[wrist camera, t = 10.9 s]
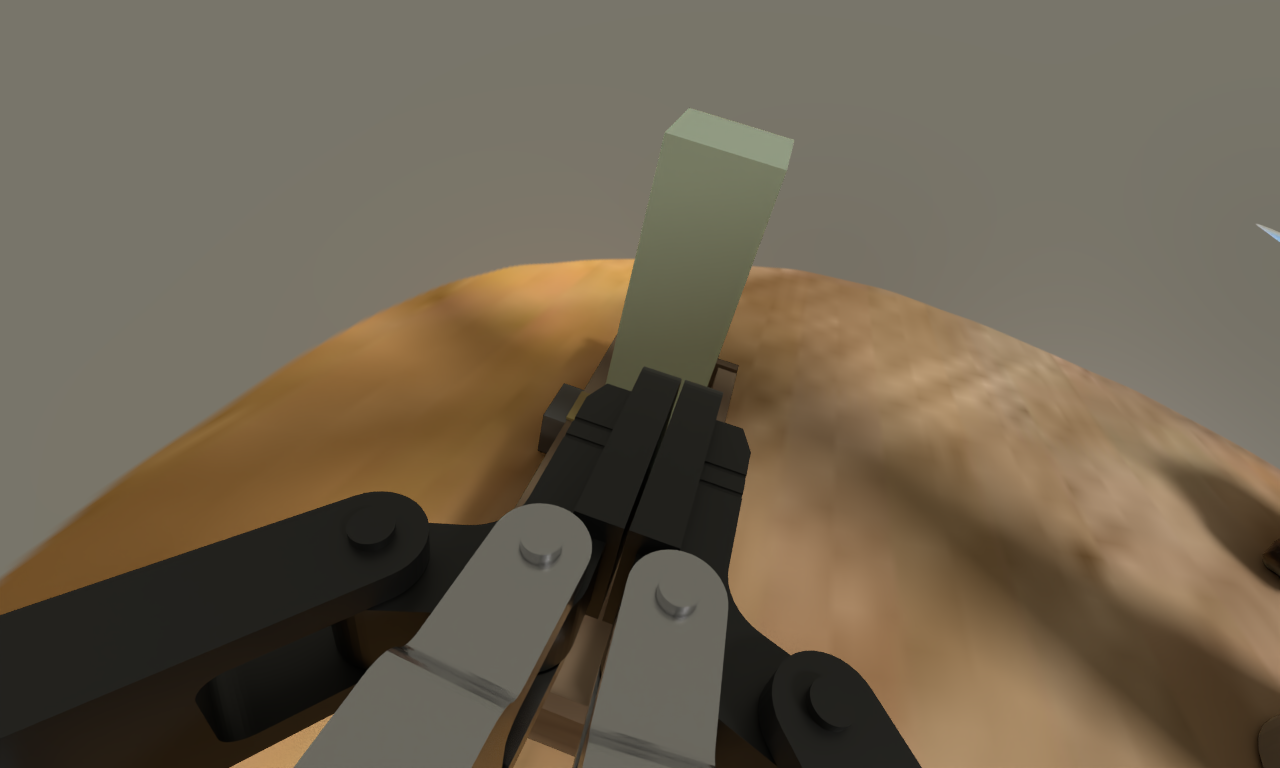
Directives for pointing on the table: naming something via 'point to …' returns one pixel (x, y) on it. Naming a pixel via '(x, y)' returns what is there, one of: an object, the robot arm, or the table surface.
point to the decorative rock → (1273, 557)
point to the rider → (697, 246)
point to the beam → (581, 664)
